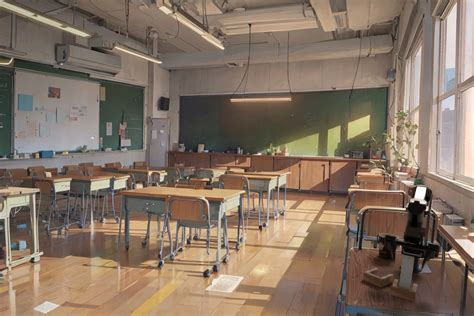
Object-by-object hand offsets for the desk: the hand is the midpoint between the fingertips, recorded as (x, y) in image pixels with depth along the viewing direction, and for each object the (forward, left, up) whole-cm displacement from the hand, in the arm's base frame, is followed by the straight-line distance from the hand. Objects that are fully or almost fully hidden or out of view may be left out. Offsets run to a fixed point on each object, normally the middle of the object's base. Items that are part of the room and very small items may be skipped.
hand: (407, 266), depth 140 cm
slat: (+2, +1, -9) cm, 10 cm away
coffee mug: (-26, -29, -10) cm, 40 cm away
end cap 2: (+2, +1, -10) cm, 10 cm away
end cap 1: (+2, -10, -10) cm, 14 cm away
